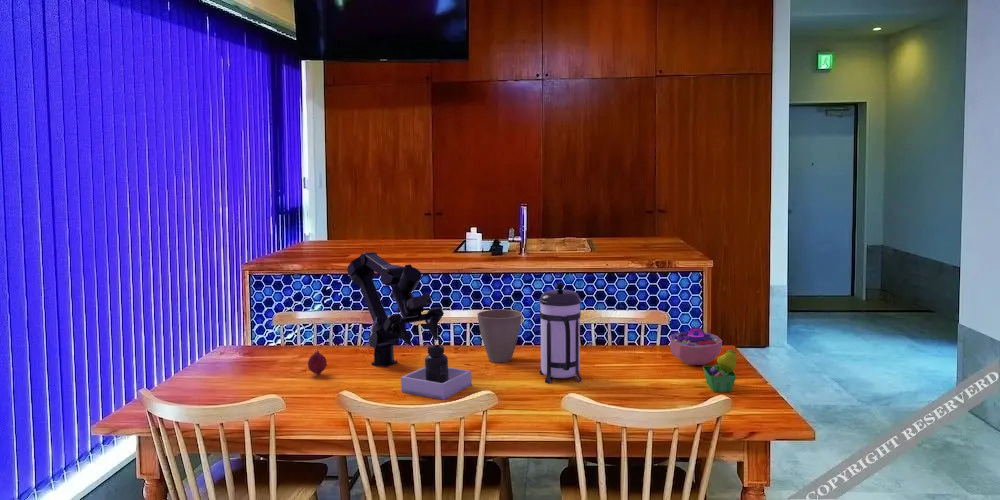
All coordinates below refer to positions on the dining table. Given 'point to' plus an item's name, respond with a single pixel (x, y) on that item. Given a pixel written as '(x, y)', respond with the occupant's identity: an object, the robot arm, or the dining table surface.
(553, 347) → the coffee press
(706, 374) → the fruit basket
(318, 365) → the onion
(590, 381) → the dining table surface
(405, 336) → the robot arm
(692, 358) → the cell model
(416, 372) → the purple bin
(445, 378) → the supplement bottle
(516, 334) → the plant pot
